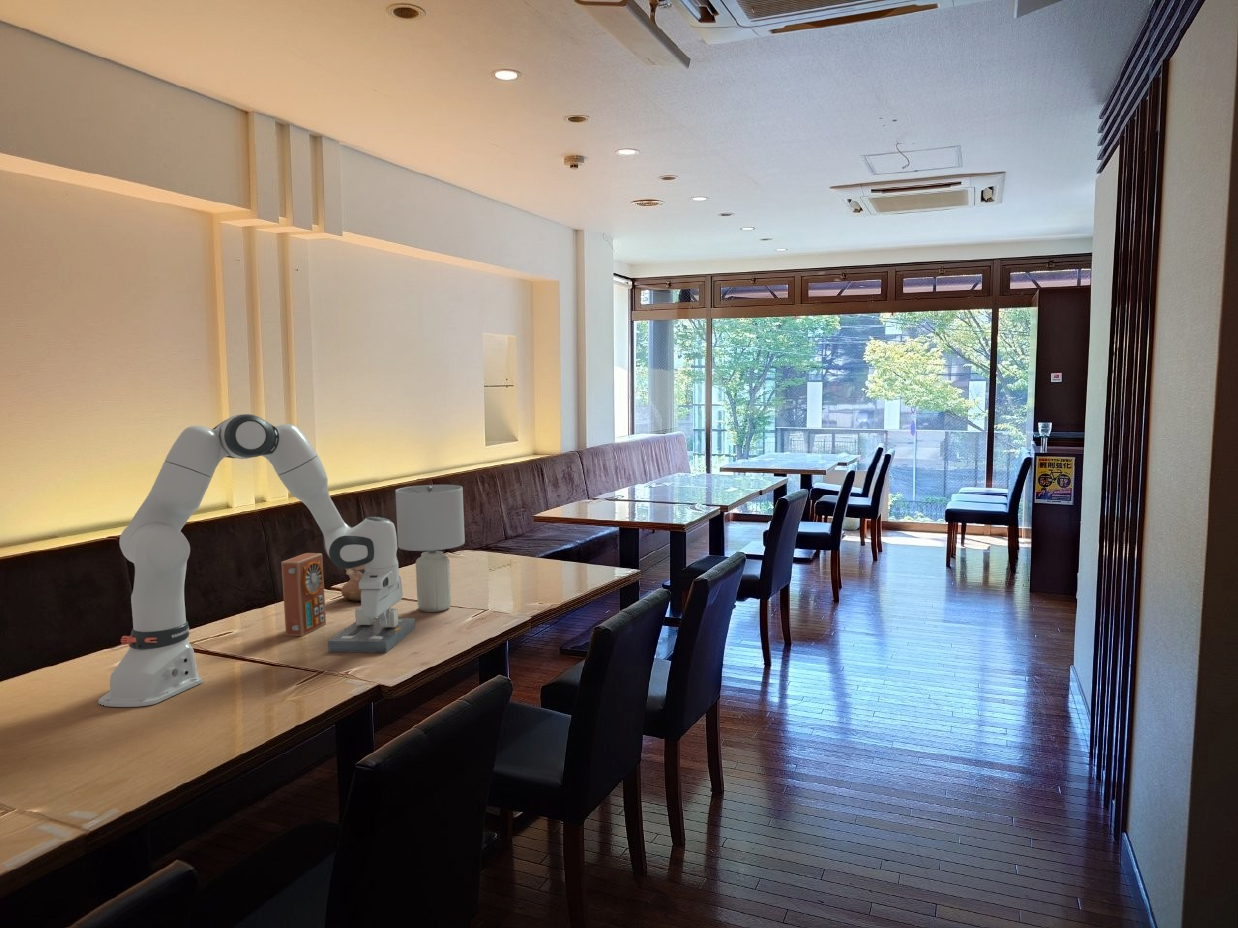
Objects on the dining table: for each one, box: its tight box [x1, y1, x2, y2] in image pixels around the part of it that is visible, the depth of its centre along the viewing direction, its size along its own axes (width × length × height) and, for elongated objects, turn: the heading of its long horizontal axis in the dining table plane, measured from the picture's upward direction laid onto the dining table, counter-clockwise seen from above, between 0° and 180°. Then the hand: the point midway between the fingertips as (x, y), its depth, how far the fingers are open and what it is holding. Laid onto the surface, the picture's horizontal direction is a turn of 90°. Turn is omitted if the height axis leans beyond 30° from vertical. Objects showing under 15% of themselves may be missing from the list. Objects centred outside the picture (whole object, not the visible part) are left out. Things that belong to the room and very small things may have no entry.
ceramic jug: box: [340, 564, 365, 602], centre depth 277 cm, size 18×14×14 cm
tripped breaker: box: [380, 608, 399, 627], centre depth 232 cm, size 3×4×4 cm
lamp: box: [395, 484, 466, 613], centre depth 260 cm, size 20×20×39 cm
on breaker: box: [354, 606, 374, 625], centre depth 235 cm, size 3×4×4 cm
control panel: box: [280, 552, 327, 637], centre depth 242 cm, size 21×7×15 cm
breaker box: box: [327, 617, 416, 654], centre depth 231 cm, size 22×16×3 cm
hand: (384, 624), depth 229 cm, fingers closed
